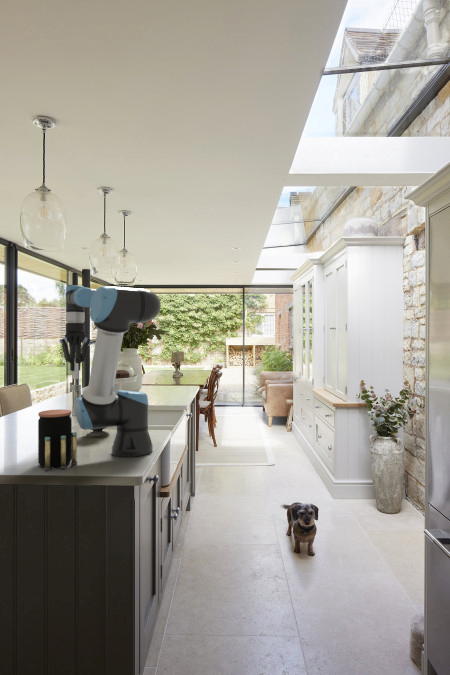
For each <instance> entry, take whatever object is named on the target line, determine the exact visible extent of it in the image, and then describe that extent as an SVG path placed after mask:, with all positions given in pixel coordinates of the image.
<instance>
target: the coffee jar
mask: <svg viewBox="0 0 450 675" xmlns="http://www.w3.org/2000/svg"><path fill="white" fill-rule="evenodd" d="M71 414H72V410H70V409H48V410H42V411H39V412H38V417H39V419H38V421H37V422H38V424H37V425H38V426H37V427H38V429H37V433H38V434H37V435H38V436H37V437H38V440H37V445H38V447H37V450H38V453H37V456H38V458H37V462H38V465H39V466H40V467H41V468H42V469H43V468H45V437H47V436H50V437H51V440H50V467H51V469H58V468H59V469H60V466H61V435H66V465H67V466H68V465H70V464H71V462H72V436H71V433H72V417H71Z"/></svg>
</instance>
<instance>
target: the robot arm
mask: <svg viewBox="0 0 450 675" xmlns="http://www.w3.org/2000/svg"><path fill="white" fill-rule="evenodd" d="M64 294H65V321H66V324H65V335H64V337H63V338H61V339H60V338H59V343H60V344H61V347H62V350H63V355H64V360H65V362H67V363H69V364H70V365H69V368H70V369H69V370H70V371H71V378H72V379H74V380H79V371H81V364H82V362H85V361H86V358H87V352H88V347H89V344H90V343H91V341H92V340H91V339H90V338H88V337H87V336H86V333H85V330H86V327H85V323H84V322H86V321H85V320H86V319H85V314H86V312H85V311H86V310H85V308H89V317H90V320H91V321H92V322H93V326H94V327H95V328H96V329H97V331H96V338H95V344H94V350H93V356H92V357H93V358H92V362H91V363H92V364H91V366H90V367H91V368H90V376H89V381H88V387H86V388H85V389H84V390H83V391H82V395H81V396H79V397H77V398H76V399H75V404H74V405H75V406H74V408H75V409H74V410H75V416H76V421H77V424H78V425H79V427H80V429H82V430H85V431H86V430H90V429H92V430H91V431H93V429H97V428H105V429H107V428H112V427H116V434H115V437H114V440H113V444H112V446H111V453H112V455H114V456H117V457H125V458H127V457H129V458H131V457H133V458H134V457H140V456H145V455H148V454H151V453H153V450H154V448H153V446H154V445H153V443H152V440H151V436H150V433H149V426H148V425H149V398H148V394H146V393H145V392H143V391H135V390H127V389H126V390H125V389H121V390H117V391H116V392H115V391H114V387H115V382H116V376H117V371H118V365H119V361H120V355H121V350H122V344H123V338H124V334H125V333H127V332H128V331H129V330H130V326H131V324H132V323H133V324H141V323H148V322H150V321H152V320H154V319H155V318H156V317H158V315H159V314H160V312H161V308H162V302H161V300H160V297H159V296H158V295H157V294H156V293H155V292H154V291H152V290H149V289H145V288H141V287H138V288H136V287H135V288H134V287H126V286H125V287H124V286H122V287H121V286H114V285H110V286H107V285H106V286H99V287H97V289H96V288H89V287H86V286H85V287H84V286H83V285H75V284H74V285H73V284H71V285H70V284H69V285H66V287H65V293H64ZM67 342H68V343H67ZM68 344H69V346H68ZM106 427H107V428H106Z"/></svg>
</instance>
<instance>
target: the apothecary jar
mask: <svg viewBox="0 0 450 675" xmlns="http://www.w3.org/2000/svg"><path fill="white" fill-rule="evenodd" d="M107 428H108V427H106V428H97V429H93V430H92V429H89V430H90V432H89V433H87V434H86V435H85V436H86V438H91V439H92V438H93V439H97V438H104V437H107V436H110V433H109V432H107V431H105V430H104V429H107Z"/></svg>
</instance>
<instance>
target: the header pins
mask: <svg viewBox="0 0 450 675" xmlns="http://www.w3.org/2000/svg"><path fill="white" fill-rule="evenodd" d="M77 433H78V432H77V431H73V432H72V433H71V436H72V459H71V461H70V466H72V467H76V466H77V465H78V460H77V457H78V456H77V451H78V450H77V448H78V447H77V436H78V435H77ZM50 440H51V437H50V436H47V437H45V468H44V472H50V471H52V468H51V467H50ZM67 466H68V465H66V435H61V466H60V467H59V470H61V471H63V470H67Z"/></svg>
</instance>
